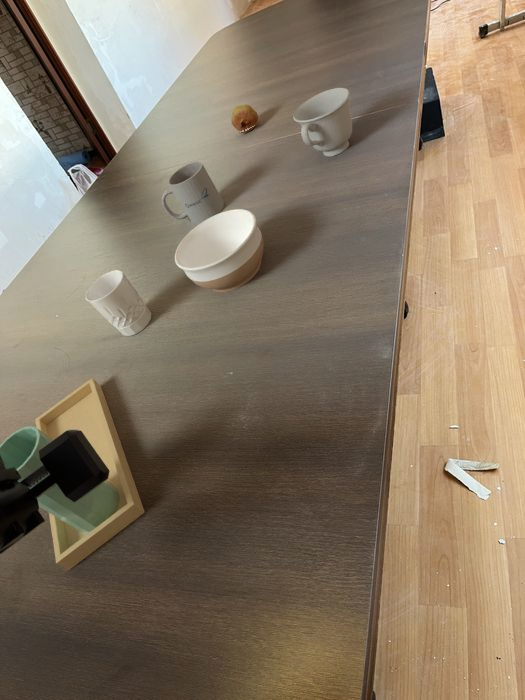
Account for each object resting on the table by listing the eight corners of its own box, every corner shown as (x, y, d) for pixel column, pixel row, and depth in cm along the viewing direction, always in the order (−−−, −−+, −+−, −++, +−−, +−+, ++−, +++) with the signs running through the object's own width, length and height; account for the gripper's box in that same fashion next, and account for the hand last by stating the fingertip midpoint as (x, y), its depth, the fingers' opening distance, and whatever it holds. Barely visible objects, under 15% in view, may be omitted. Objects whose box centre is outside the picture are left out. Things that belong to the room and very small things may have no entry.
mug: (226, 195, 113) (205, 156, 107) (221, 216, 108) (198, 176, 101) (181, 212, 118) (158, 175, 111) (173, 233, 112) (149, 196, 106)
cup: (125, 507, 63) (44, 448, 54) (83, 544, 62) (-8, 491, 53) (111, 475, 68) (33, 416, 59) (71, 509, 67) (-14, 454, 58)
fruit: (226, 109, 136) (225, 122, 128) (246, 92, 133) (245, 105, 125) (242, 129, 139) (242, 143, 132) (261, 113, 136) (262, 126, 129)
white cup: (161, 309, 93) (130, 269, 86) (138, 340, 89) (104, 301, 82) (134, 307, 97) (103, 270, 91) (111, 337, 94) (77, 300, 87)
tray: (145, 512, 62) (134, 504, 61) (69, 570, 61) (56, 563, 60) (101, 385, 85) (92, 377, 83) (44, 426, 84) (34, 419, 82)
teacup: (294, 176, 105) (276, 133, 99) (324, 136, 112) (308, 93, 105) (344, 171, 98) (327, 124, 91) (372, 129, 104) (359, 82, 98)
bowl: (215, 248, 99) (195, 216, 94) (285, 237, 91) (267, 201, 86) (183, 306, 90) (159, 274, 85) (257, 298, 82) (236, 262, 77)
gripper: (10, 383, 42) (76, 389, 58) (-177, 518, 41) (-58, 487, 57) (84, 489, 42) (131, 466, 57) (-105, 630, 40) (-4, 567, 56)
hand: (49, 494), depth 57 cm, fingers open, 9 cm apart
